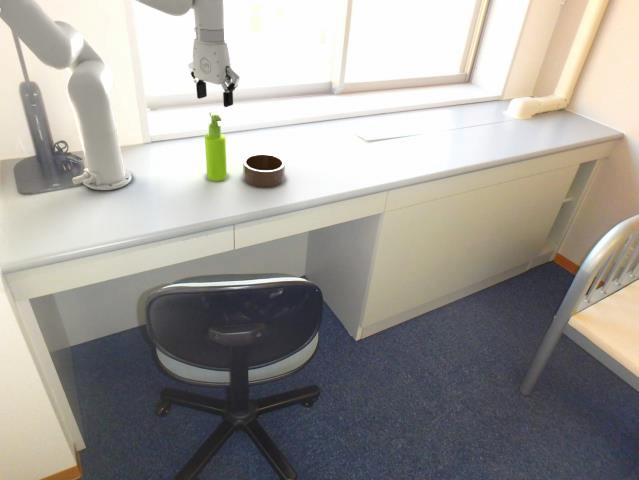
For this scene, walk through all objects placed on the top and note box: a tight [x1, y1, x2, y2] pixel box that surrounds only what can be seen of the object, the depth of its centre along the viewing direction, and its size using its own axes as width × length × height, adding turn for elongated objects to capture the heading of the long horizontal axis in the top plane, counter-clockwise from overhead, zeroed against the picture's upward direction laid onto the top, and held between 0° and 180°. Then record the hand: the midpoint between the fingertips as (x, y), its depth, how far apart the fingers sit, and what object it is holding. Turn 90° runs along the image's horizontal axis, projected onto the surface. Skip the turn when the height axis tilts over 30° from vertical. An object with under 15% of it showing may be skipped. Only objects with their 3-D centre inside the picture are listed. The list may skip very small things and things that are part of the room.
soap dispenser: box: [204, 112, 228, 182], centre depth 131 cm, size 6×7×20 cm
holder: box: [242, 153, 286, 189], centre depth 137 cm, size 13×13×6 cm
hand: (215, 101), depth 123 cm, fingers open, 9 cm apart
